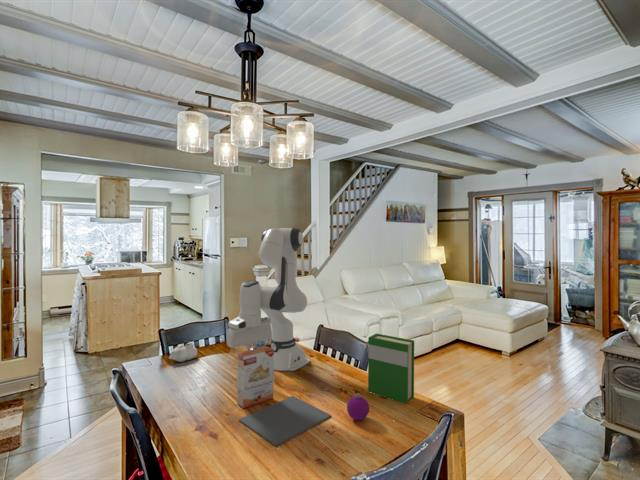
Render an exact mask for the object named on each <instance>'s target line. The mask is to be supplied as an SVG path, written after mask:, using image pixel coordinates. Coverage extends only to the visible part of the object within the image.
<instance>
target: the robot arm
mask: <svg viewBox="0 0 640 480" xmlns="http://www.w3.org/2000/svg"><path fill="white" fill-rule="evenodd" d="M260 241H261V245H260V248H259V249H258V258H259V260H260V262H261V263H263V265H265V266H266V267H268V268H271V269H273V270H274V275H273V276H274V280H275V282H276V285H275V286H262V285H260V281H258V280H255V279H254V280H253V279H251V280H245V281H244V282H242V283H241V285H240V290H239V300H238V301H239V308H240V309H239V313H238V314H239V315H238V316H237V317H236V316H235V318H233V319H231V320H229V321H228V324H227V325H228V326H227V327H228V329H227V333H226V346H227V347H229V348H230V349H234V348H239V347H242V346H243V347H244V350H245V351H248V350H252V349H256V348H255V347H256V345H257V342H258V341H262V340H266V339H270V338H271V340H270V348H272V349H274V371H281V372H283V371H284V372H285V371H289V372H290V371H292V372H293V371H296V370H298V369H300V368H302V367H304V366H305V365H307V364H309V362H310V363H311V360H310V359H309V358H308V357H306V351H305V350H304V349H303V348H302V347H301V346H299V345H298V344H297V343H299V342H300V338H299V337H294V324H293V322H292V321H291V320H290V319H289V318H288V317H287V318H286V317H285V315H284V313H294V314H296V313H300V312H304V311H305V310H306V308H307V307H308V298H307V296H306V294H305V293H304V292H303V291H302V290H301V289H300V287H299V285H298V284H297V279H296V277H297V275H296V271H297V269H296V268H297V251H298V250H299V249H300V248H301V246H302V244H303V241H304V237H303V232H302V230H301V229H299V228H296V227H293V228H292V227H291V228H290V227H281V228H275V227H274V228H269V229H266V230H264V231H263V232H262V233H261V239H260ZM262 311H263V312H264V313H265V315H267V316H264V317H262ZM271 336H272V337H271ZM250 345H251V347H250ZM249 347H250V348H249Z"/></svg>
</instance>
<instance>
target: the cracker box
mask: <svg viewBox="0 0 640 480" xmlns="http://www.w3.org/2000/svg"><path fill="white" fill-rule="evenodd" d="M236 369H237V375H236V377H237V379H236V381H237V383H236V385H237V387H236V389H237V390H236V394H237V395H236V403H237V404H238V406H240V407H241V408H242V409H246V408H249V407H252V406H255V405H258V404H260V403H263V402H266V401H270V400H273V398H274V375H275V374H274V371H275V370H274V349H272V348H271V346H266V345H265V347H261V348H255V349H252V350H248V351H246V350H245V351H240V352H237V368H236Z"/></svg>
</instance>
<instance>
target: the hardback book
mask: <svg viewBox="0 0 640 480" xmlns="http://www.w3.org/2000/svg"><path fill="white" fill-rule="evenodd" d="M367 341H368V344H367V345H368V348H367V349H368V350H367V352H368V356H367V357H368V358H367V359H368V361H367V362H368V363H367V365H368V367H367V371H368V373H367V374H368V376H367V379H368V380H367V381H368V382H367V388H368V389H367V392H368V391H369V392H372V393H375V394H378V395H382V396H385V397H387V398H386V399H388V398H390V399H389V400H391V399H393V400H392V401H396V402H398V403H402V404H404V403H405V405H408V404H409V400H410V398H411V399H414V398H415V340H413V339H407V338H402V337H397V336H392V335H387V334H381V333H374V334H373V335H370V336H369V337H368V340H367ZM372 393H371V394H372ZM375 394H374V395H375ZM378 395H377V396H378ZM385 397H384V398H385Z"/></svg>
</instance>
